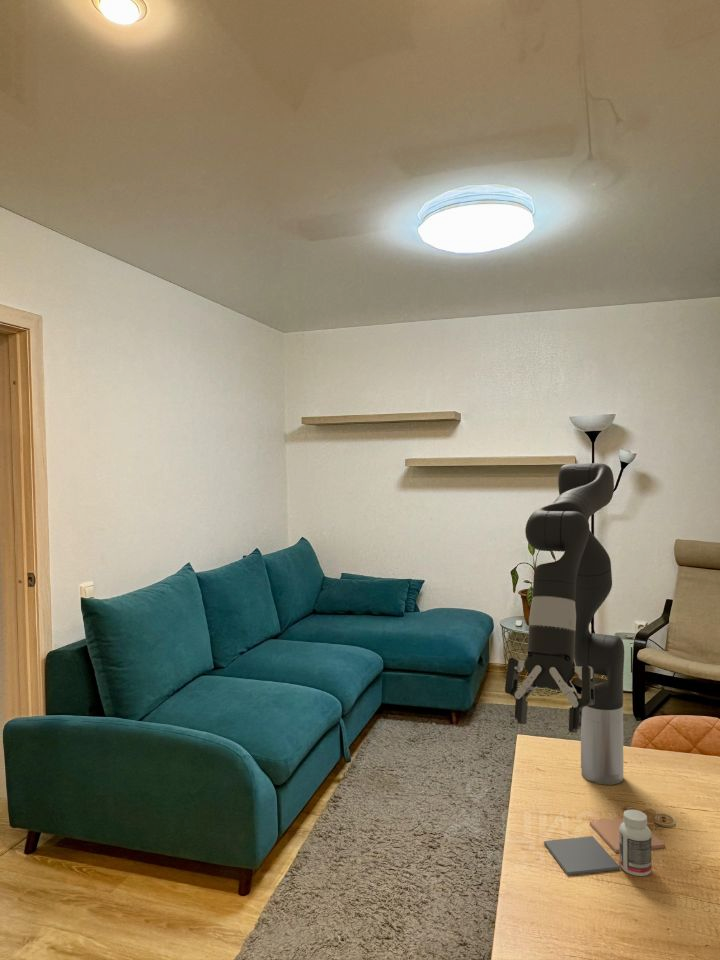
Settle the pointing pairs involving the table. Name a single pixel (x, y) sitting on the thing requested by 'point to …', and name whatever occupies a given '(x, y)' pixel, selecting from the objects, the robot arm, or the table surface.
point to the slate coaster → (581, 855)
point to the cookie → (656, 818)
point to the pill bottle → (635, 843)
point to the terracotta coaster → (617, 833)
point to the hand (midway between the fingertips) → (546, 728)
